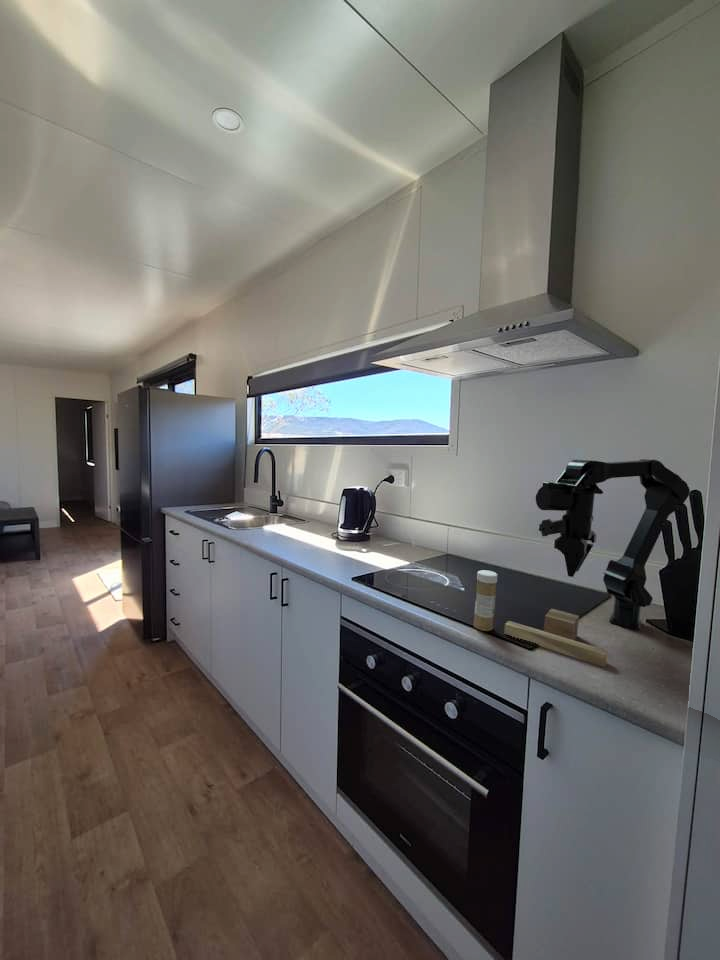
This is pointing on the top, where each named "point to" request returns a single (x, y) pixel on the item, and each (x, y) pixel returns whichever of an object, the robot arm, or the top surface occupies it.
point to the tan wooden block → (561, 624)
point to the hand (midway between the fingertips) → (573, 573)
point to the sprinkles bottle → (485, 600)
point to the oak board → (557, 643)
